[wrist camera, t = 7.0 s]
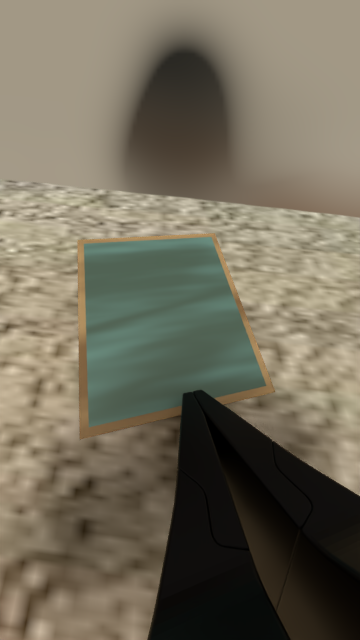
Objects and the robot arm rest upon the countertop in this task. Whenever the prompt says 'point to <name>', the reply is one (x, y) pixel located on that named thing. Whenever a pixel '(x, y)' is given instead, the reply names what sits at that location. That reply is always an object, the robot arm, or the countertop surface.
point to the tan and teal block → (159, 330)
